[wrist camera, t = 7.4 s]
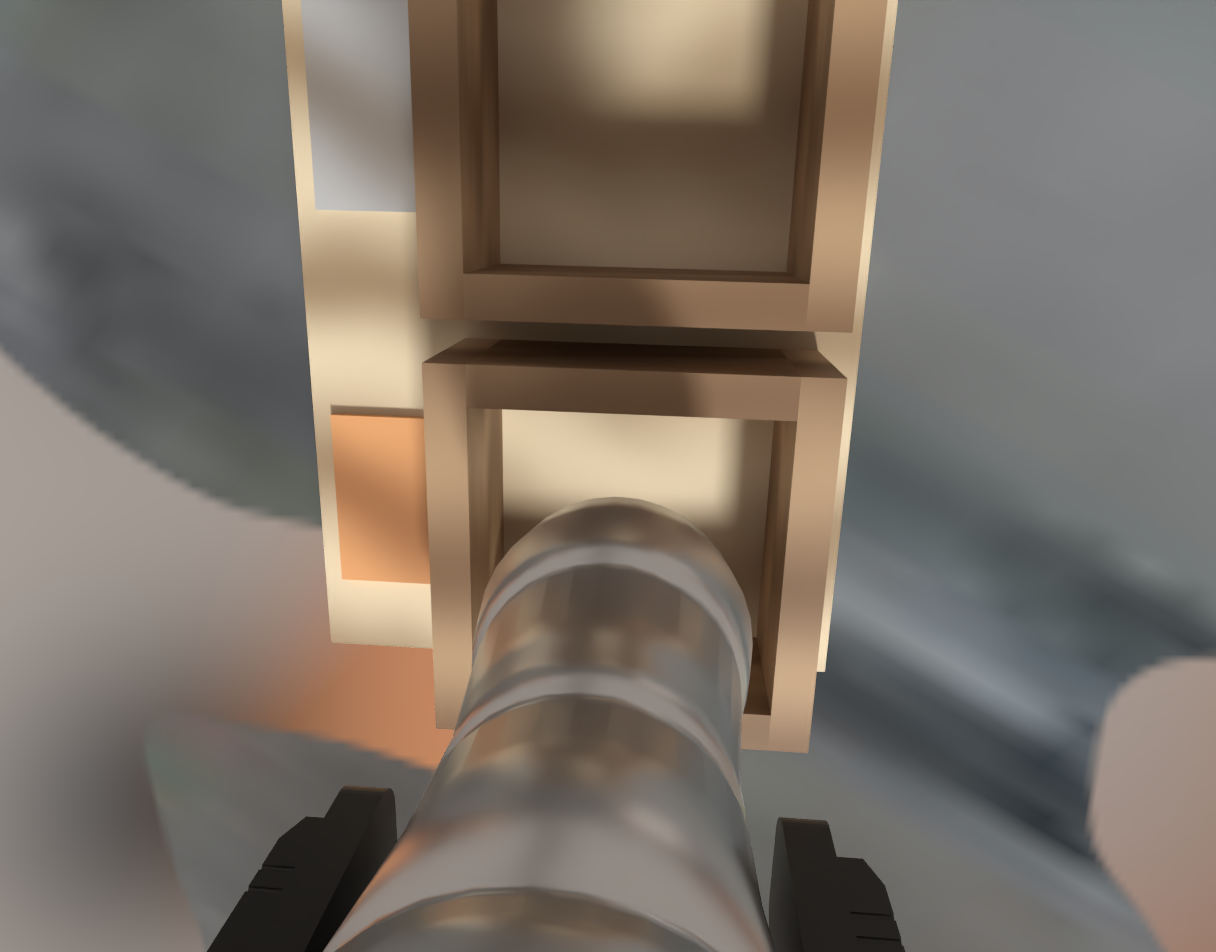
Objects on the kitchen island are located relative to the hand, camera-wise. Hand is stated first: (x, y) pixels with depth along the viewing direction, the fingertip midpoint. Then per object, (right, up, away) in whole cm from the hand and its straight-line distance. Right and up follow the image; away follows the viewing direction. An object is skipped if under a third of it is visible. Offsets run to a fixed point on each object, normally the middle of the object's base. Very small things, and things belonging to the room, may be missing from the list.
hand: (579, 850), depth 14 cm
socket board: (0, +11, +15) cm, 19 cm away
